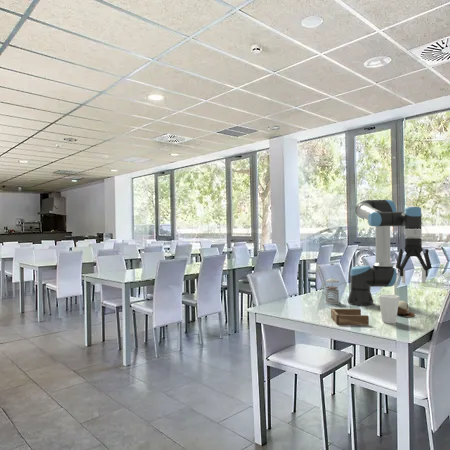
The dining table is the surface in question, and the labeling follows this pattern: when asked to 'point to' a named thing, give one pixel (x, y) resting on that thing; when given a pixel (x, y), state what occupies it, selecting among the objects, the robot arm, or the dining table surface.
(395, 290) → the dining table surface
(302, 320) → the dining table surface
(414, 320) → the dining table surface
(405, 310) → the white and brown lump
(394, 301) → the foam cup
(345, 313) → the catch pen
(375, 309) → the dining table surface
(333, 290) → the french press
